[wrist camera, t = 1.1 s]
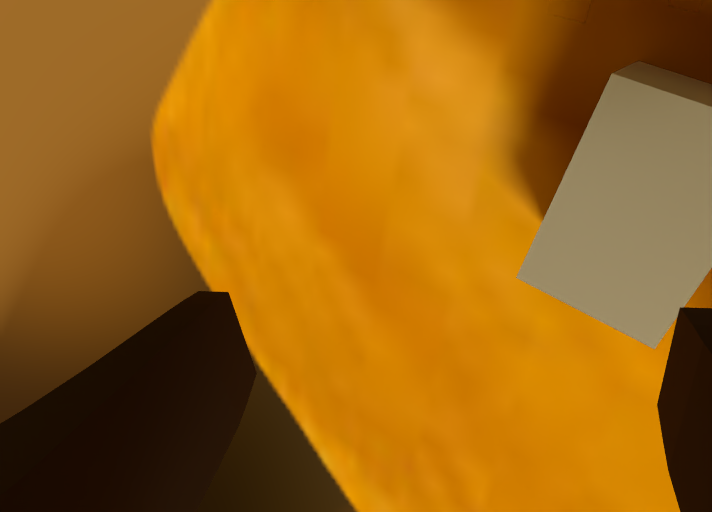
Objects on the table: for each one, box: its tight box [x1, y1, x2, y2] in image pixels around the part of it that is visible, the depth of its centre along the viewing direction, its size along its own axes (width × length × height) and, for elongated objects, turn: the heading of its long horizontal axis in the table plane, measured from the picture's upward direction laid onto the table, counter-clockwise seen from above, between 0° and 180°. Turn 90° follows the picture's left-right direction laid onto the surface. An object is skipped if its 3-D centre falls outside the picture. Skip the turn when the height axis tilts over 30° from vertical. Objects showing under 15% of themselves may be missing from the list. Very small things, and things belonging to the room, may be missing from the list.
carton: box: [516, 61, 712, 349], centre depth 15 cm, size 4×6×4 cm, turn 166°
